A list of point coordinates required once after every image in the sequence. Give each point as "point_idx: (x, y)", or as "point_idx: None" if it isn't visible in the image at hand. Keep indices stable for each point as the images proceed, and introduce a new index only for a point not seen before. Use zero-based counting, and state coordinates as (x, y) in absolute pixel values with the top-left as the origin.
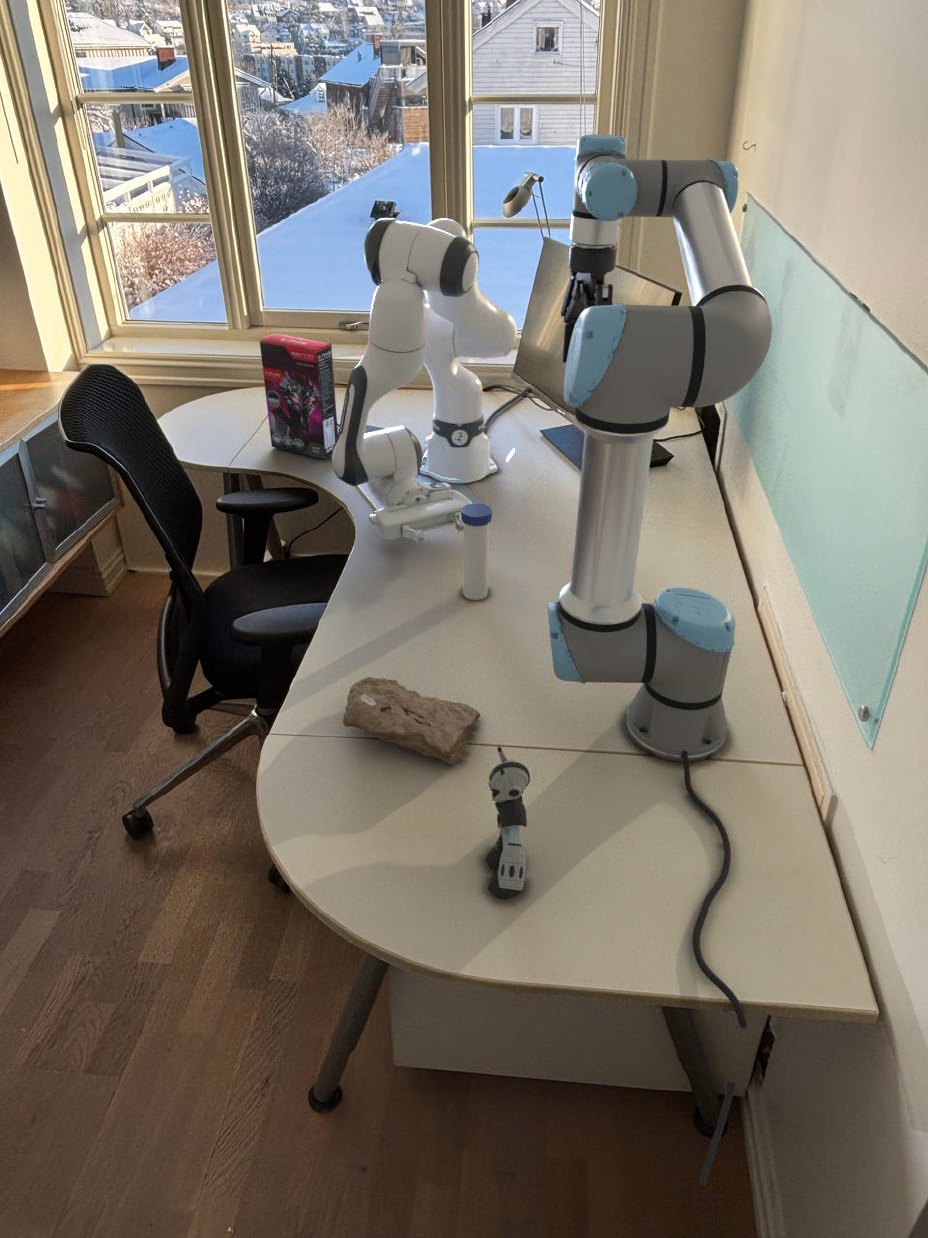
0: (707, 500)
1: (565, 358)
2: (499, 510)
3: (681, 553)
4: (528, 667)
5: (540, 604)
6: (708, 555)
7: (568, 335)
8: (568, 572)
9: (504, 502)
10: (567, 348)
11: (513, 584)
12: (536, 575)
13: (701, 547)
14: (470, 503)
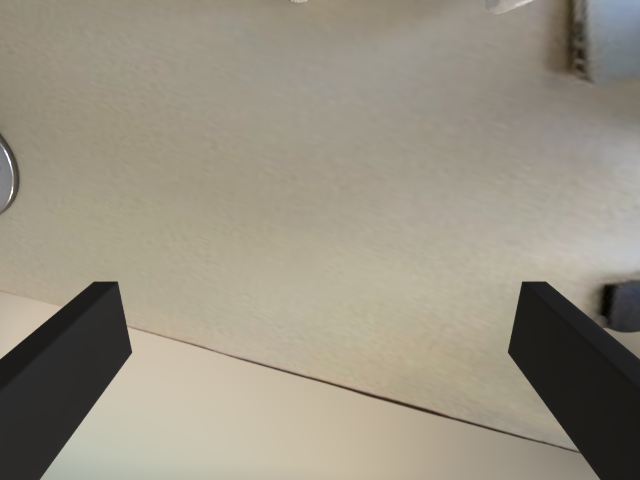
0: (466, 403)
1: (531, 299)
2: (558, 105)
3: (342, 321)
4: (87, 12)
5: (249, 84)
6: (329, 349)
7: (629, 407)
8: (329, 156)
9: (582, 122)
10: (565, 341)
11: (313, 57)
12: (331, 104)
13: (350, 349)
14: (507, 2)
